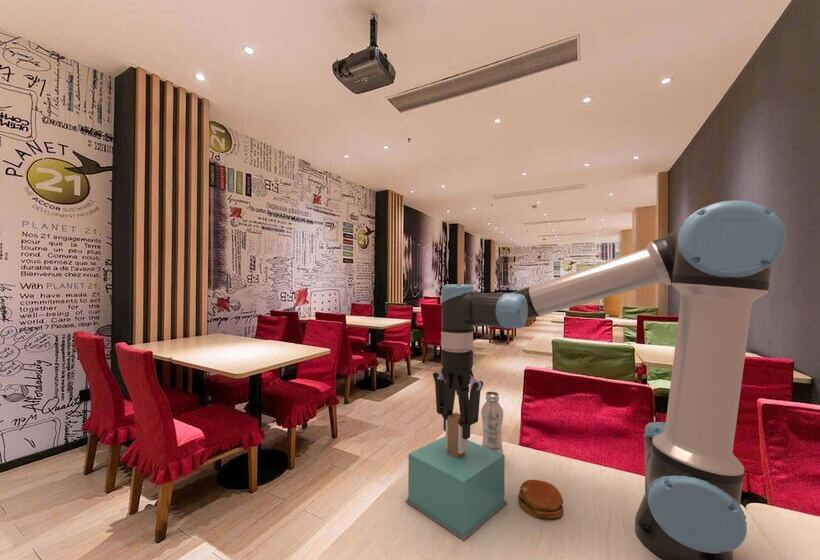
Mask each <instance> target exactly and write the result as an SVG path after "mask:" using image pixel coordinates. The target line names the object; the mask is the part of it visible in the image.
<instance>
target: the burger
mask: <svg viewBox="0 0 820 560" xmlns="http://www.w3.org/2000/svg"><path fill="white" fill-rule="evenodd" d="M517 497H518V500H519V505H520V508H521V509H522V511H524V512H525V513H526V514H528V515H529V516H532V517H534V518H537V519H538V518H539V519H543V518H545V519H548V520H550V519H553V520H554V519H559V518H562V517H563V514H564V506H563V504H564V499H563V496H562V495H561V492H560V491H559V489H558V488H557V487H556V486H555V485H554V484H552V483H550V482H547V481H544V480H541V479H540V480H539V479H527V480H525V481H523V483H522V484H521V485H520V486H519V491H518V494H517Z"/></svg>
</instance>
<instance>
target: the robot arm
mask: <svg viewBox="0 0 820 560" xmlns="http://www.w3.org/2000/svg"><path fill="white" fill-rule="evenodd" d="M786 241H787V232H786V229H785V225H784V223H783V221H782V220H781V218H779V217H778V216H777V214H776V213H774V212H773V211H771V209H768V208H767V207H765V206H763V205H760V204H758V203H756V202H752V201H746V200H737V199H736V200H723V201H719V202H718V201H717V202H715V203H712V204H709V205H707V206H703V207H702V208H700V209H698V210H696V211H694V212H693V213H692V214H690V215H689V216H688V217H687V218H686V219H685V220H684V222H683V223H682V224H681V227H680V228H679V229H677V230H675V231H674V232H671V233H669V234H667V235H665V236H663V237H660V238H658V239H655V240H651V241H650V242H649V243H648V244H647V246H646V247H645V248H642V249H640V250H637V251H635V252H632V253H628V254H625V255H622V256H619V257H616V258H613V259H610V260H607V261H604V262H601V263H597V264H594V265H591V266H589V267H585V268H583V269H580V270H577V271H574V272H573V271H572V272H571V273H570V272H569V273H567V274H564V275H561V276H559V277H555V278H552V279H549V280H547V281H543V282H540V283H538V284H534V285H532V286H527V287H524V288H521V289H519V290H515V291H513V292H502V293H501V292H496V293H495V292H491V293H490V292H489V293H487V292H485V293H484V292H482V293H481V292H475V290H474V286H473V285H472V284H470V283H469V284H456V283H455V284H453V283H451V284H449V283H447V284H444V286H443V287H442V289H441V290H442V291H441V301H440V305H441V331H440V335H441V337H440V347H441V348H442V350H440V351H441V352H440V363H441V366H442V368H441V369H440V370H439V371H435V372H433V373H432V377H433V380H434V381H433V382H434V388H435V405H436V413H437V414H438V415H441V416H442V419H443V431H444V432H445V436H446V448H448V416H449V415H451V414H453V413H454V407H455V406H454V405H455V398H456V395H457V398H458V406H459V414H460V417H461V423H459V424H458V453H459V454H462V453H464V452H465V451H467V450H468V440H469V439H470V438H471V425H474V424H476V423H478V422H479V413H480V403H481V402H480V401H481V391H482V388H483V386H484V382H483V381H482V380H478V379H477V378H475V377H474V373H473V365H474V351H473V350H472V349H473V348H474V326H478V327H479V326H481V327H491V328H492V327H493V328H503V329H506V330H509V329H521V328H524V327H525V325H526V323H527V320H530V319H534V318H537V317H541V316H544V315H548V314H552V313H555V312H558V311H563V310H567V309H569V308H575V307H576V306H581V305H584V304H588V303H590V302H594V301H599V300H603V299H606V298H610V297H613V296H617V295H620V294H623V293H628V292H631V291H635V290H638V289H642V288H645V287H649V286H653V285H657V284H665V285H667V286H671V287H673V288H674V289H676V291H677V292H678V293H679V295H680V296H681V297H680V303H679V304H680V306H679V313H678V321H677V328H676V337H675V346H674V351H673V353H674V355H673V359H672V360H673V361H672V370H671V376H670V377H671V378H670V384H669V385H670V386H669V392H668V402H667V412H666V418H665V422H664V421H653V422H652V421H651V422H648V423H647V424H646V425H645V428H644V433H643V437H644V495H643V498H642V500H641V503H640V504H639V507H638V509H637V512H636V513H635V514H636V515H635V518H634V528H635V529H634V531H635V534H636V536H637V537H638V539H639V540H640V542H641V543H642V544H643V546H645V547H646V548H647V549H648V550H649V551H651V552H652V553H653V554H654V555H656V557H657V556H658V557H659V558H661V559H662V560H734V559H733V557H734V556H733V555H734V553H733V551H734V550H736V549H737V548H739V547H740V546H741V545H742V544H743V543H744V541H745V538H746V537H747V531H748V530H747V529H748V528H747V521H746V519H747V516H746V515H745V513H744V510H743V508H742V506H741V499H742V491H743V484H744V483H743V482H744V476H745V475H744V474H745V467H744V465H743V464H742V462H741V461H740V460H739V459H738V457H736V456H735V454H734V453H733V451H734V444H735V442H734V441H735V435H736V429H737V420H738V415H739V414H738V412H739V407H740V406H739V405H740V404H739V403H740V397H741V391H742V381H743V377H744V375H743V373H744V368H745V367H744V366H745V361H746V360H745V359H746V353H747V345H748V338H749V330H750V329H749V328H750V321H751V315H752V306H753V303H754V302H755V301H756V300H759V299H760V298H761V297H763V296H765V295H767V294H769V288H770V283H771V282H770V281H771V275H772V274H771V273H772V267H773V265H774V264H775V263H776V262H777V261H778V259H779V258H780V256H781V255H782V253H783V251H784V249H785V247H786Z"/></svg>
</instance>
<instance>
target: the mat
mask: <svg viewBox="0 0 820 560" xmlns="http://www.w3.org/2000/svg"><path fill="white" fill-rule="evenodd" d="M404 503H406V504H407V505H409V506H410V507H412V508H413V509H415V510H416V511H418V513H420V514H422V515H423V516H425V517H426V518H428V519H430V520H431V521H433V522H434V523H436V524H437V526H440V527H442V528H443V529H444V530H446V531H447V532H449V533H450V534H453V535H454V536H455V537H457V538H458V539H459V540H461V541H463V542H465V541H466V540H467V539H469V538H470V537H471V536H472V535H473V534H474V533H476V531H478V530H480V528H481V527H482V526H484V525H485V524H486V523H487V522H488V521H490V520H491V518H493V516H495V515H496V514H497V513H498V512H499V511H501V510H502V509H503V508H504V507H505V506H506V505H507V504H508V501H506V500H505V499H504V503H502V504H501V505H500V506H499V507H498V508H497V509H495V510H494V511H493V512H492V513H491V514H490V515H488V516H487V517H486V518H485V519H484V520H483V521H481V522H480V523H479V524H478V525H477V526H476V527H474V528H473V529H472V530H471V531H470V532H469V533H467V534H466V535H465V536H464V537H463V536H461V535H460V534H458V533H457V532H455V531H454V530H452V529H451V528H449V527H448V526H446V525H445V524H443V523H442V522H440V521H438V520H437V519H435V518H434V517H432V516H431V515H429V514H428V513H426V512H425V511H423V510H422V509H420V508H419V507H417V506H416V505H414V504H413V503H411V502H410V501H408V498H407V499H405V502H404Z"/></svg>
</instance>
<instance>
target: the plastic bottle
mask: <svg viewBox="0 0 820 560" xmlns="http://www.w3.org/2000/svg"><path fill="white" fill-rule="evenodd" d="M499 395H500V394H499V393H498V392H495V391H486V393H485V403H484V404H483V405H482V407H481V411H480V413H481V415H480V416H481V422H482V443H481V446H484V447H486V448H489V449H491V450H494V451H496V452H499V453H501V454H504V448H503V441H502V440H503V439H502V433H503V432H502V430H503V421H504V410H503V408H502V406H501V405H500V403H499V401H500V397H499Z"/></svg>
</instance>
